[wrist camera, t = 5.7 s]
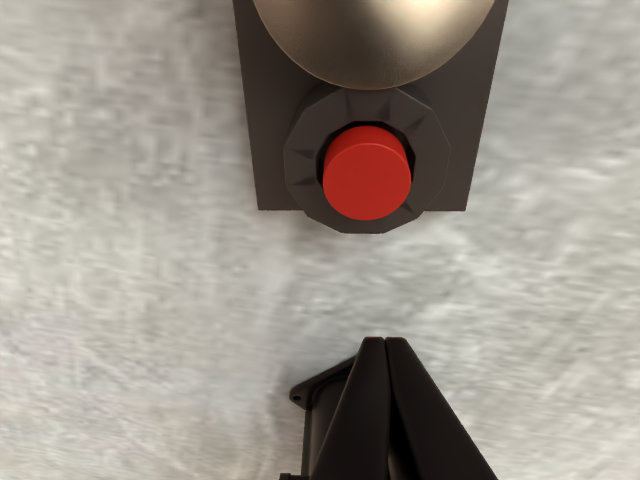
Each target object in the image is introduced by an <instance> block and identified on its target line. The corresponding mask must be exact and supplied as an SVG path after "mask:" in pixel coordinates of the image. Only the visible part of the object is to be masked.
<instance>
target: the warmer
mask: <svg viewBox="0 0 640 480" xmlns="http://www.w3.org/2000/svg"><path fill="white" fill-rule="evenodd" d="M508 1H509V0H495V2H494V4H493V6H492V8H491V9H490V11H489V13H488V14H487V16H486V18H485V20H484V21H483V23H482V24H481V26H480V27H479V28H478V30H477V31H476V32H475V34H474V35H473V36H472V38H471V39H470V40H469V41H468V42H467V43H466V44H465V45H464V46H463V47H462V49H461V50H460V51H458V52H457V53H456V54H455V55H454V56H453V57H452V58H450V59H449V60H448V61H447V62H446V63H444V64H443V65H441V66H440V67H438V68H437V69H436V70H434V71H433V72H431V73H429V74H427V75H425V76H423V77H421V78H419V79H417V80H414V81H412V82H409V83H407V84H404V85H400V86H396V87H392V88H387V89H378V90H358V89H351V88H345V87H341V86H338V85H334V84H331V83H328V82H326V81H324V80H322V79H319V78H317V77H315V76H314V75H312V74H310V73H309V72H307V71H305V70H304V69H303V68H301V67H300V66H299V65H297V64H296V63H295V62H294V61H292V60H291V59H290V58H289V57H288V56H287V55H286V54H285V53H284V52H283V50H282V49H281V48H280V47H279V46H278V45H277V43H276V42H275V41H274V39H273V38H272V37H271V35H270V34H269V32H268V30H267V29H266V27H265V25H264V24H263V22H262V20H261V18H260V16H259V14H258V11H257V9H256V7H255V5H254V2H253V0H233V6H234V14H235V22H236V30H237V39H238V47H239V55H240V64H241V72H242V80H243V88H244V97H245V105H246V113H247V121H248V130H249V138H250V146H251V154H252V163H253V171H254V179H255V187H256V196H257V204H258V210H303V211H304V212H305V214H306V215H307V216H308V217H310V218H311V219H313V220H316V221H318V222H320V223H322V224H324V225H326V226H328V227H330V228H332V229H334V230H336V231H339V232H341V233H350V234H380V233H382V234H383V233H385V232H388V231H390V230H392V229H394V228H397V227H399V226H401V225H403V224H406V223H408V222H410V221H412V220H415V219H417V218H418V217H419V216H420V215H421V214H422V213H423V212H424V211H465V210H466V205H467V200H468V195H469V190H470V185H471V181H472V176H473V171H474V166H475V161H476V156H477V152H478V147H479V142H480V137H481V132H482V127H483V122H484V118H485V113H486V108H487V103H488V98H489V93H490V89H491V84H492V79H493V74H494V69H495V64H496V59H497V55H498V50H499V45H500V40H501V35H502V30H503V26H504V21H505V16H506V11H507V6H508ZM358 126H375V127H380V128H383V129H385V130H387V131H389V132H390V133H392V134H393V135H394V136H395V137H396V138H397V139H398V140H399V141H400V143H401V144H402V146H403V148H404V151H405V154H406V158H407V162H408V166H409V170H410V173H411V186H410V190H409V193H408V195H407V197H406V199H405V200H404V202H403V203H402V204H401V205H400V206H399V207H398V208H397V209H396V210H395V211H393V212H392V213H390V214H389V215H387V216H384V217H382V218H378V219H374V220H357V219H352V218H349V217H347V216H344V215H343V214H341V213H339V212H338V211H337V210H335V209H334V208H333V207H332V206H331V204H330V203H329V202H328V200H327V198H326V196H325V193H324V189H323V173H324V159H325V155H326V152H327V149H328V148H329V146H330V144H331V143H332V141H333V140H334V139H335V138H336V137H337V136H339V135H340V134H341V133H343V132H344V131H346V130H348V129H351V128H354V127H358Z"/></svg>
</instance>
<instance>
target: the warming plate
mask: <svg viewBox="0 0 640 480" xmlns="http://www.w3.org/2000/svg"><path fill="white" fill-rule="evenodd" d="M253 2H254V5H255V7H256V9H257V11H258V14H259V16H260V18H261V20H262V22H263V24H264V25H265V27H266V29H267V30H268V32H269V34H270V35H271V37H272V38H273V39H274V41H275V42H276V43H277V45H278V46H279V47H280V48H281V49H282V50H283V52H284V53H285V54H286V55H287V56H288V57H289V58H290V59H291V60H292V61H294V62H295V63H296V64H297V65H299V66H300V67H301V68H303V69H304V70H305V71H307V72H309V73H310V74H312V75H314V76H315V77H317V78H319V79H322V80H324V81H326V82H328V83H331V84H334V85H338V86H341V87H345V88H351V89H358V90H378V89H387V88H392V87H396V86H400V85H404V84H407V83H409V82H412V81H414V80H417V79H419V78H421V77H423V76H425V75H427V74H429V73H431V72H433V71H434V70H436V69H437V68H438V67H440V66H441V65H443V64H444V63H446V62H447V61H448V60H449V59H450V58H452V57H453V56H454V55H455V54H456V53H457V52H458V51H460V50H461V49H462V47H463V46H464V45H465V44H466V43H467V42H468V41H469V40H470V39H471V38H472V36H473V35H474V34H475V32H476V31H477V30H478V28H479V27H480V26H481V24H482V23H483V21H484V20H485V18H486V16H487V14H488V13H489V11H490V9H491V8H492V6H493V4H494V2H495V0H253Z"/></svg>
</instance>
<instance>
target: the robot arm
mask: <svg viewBox="0 0 640 480" xmlns="http://www.w3.org/2000/svg"><path fill="white" fill-rule="evenodd" d="M289 398H290V400H291V401H292V402H294V403H295V404H297V405H298V406H300V407H301V408H303V409H304V410H306V412H305V425H304V439H303V453H302V466H301V475H291V474H290V473H281V474H280V479H279V480H498V479H497V477H496V475H495V474H494V472H493V471H492V469H491V468H490V466H489V465H488V463H487V462H486V460H485V459H484V457H483V456H482V454H481V453H480V451H479V450H478V448H477V447H476V445H475V444H474V442H473V441H472V439H471V437H470V436H469V434H468V433H467V431H466V430H465V428H464V427H463V425H462V424H461V422H460V421H459V419H458V418H457V416H456V415H455V413H454V412H453V410H452V409H451V407H450V406H449V404H448V403H447V401H446V399H445V398H444V396H443V395H442V393H441V392H440V390H439V389H438V387H437V386H436V384H435V383H434V381H433V380H432V378H431V377H430V375H429V374H428V372H427V371H426V369H425V368H424V366H423V365H422V363H421V361H420V360H419V358H418V357H417V355H416V354H415V352H414V351H413V349H412V348H411V346H410V345H409V343H408V342H407V340H406V339H405V338H402V337H387V338H385V340H384V339H383V338H382V337H365V338H364V339H363V342H362V344H361V347H360V349H359V352H358V354H357V356H356V357H354V358H352V359H350V360H348V361H346V362H344V363H342V364H340V365H338V366H336V367H334V368H332V369H330V370H328V371H326V372H325V373H323V374H321V375H319V376H317V377H315V378H313V379H311V380H309V381H307V382H305V383H303V384H301V385H299V386H297V387H295V388H293V389H292V390H291V391H290V396H289Z"/></svg>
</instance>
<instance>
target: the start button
mask: <svg viewBox="0 0 640 480" xmlns="http://www.w3.org/2000/svg"><path fill="white" fill-rule="evenodd" d="M410 186H411V173H410V170H409V166H408V162H407V158H406V154H405V151H404V148H403V146H402V144H401V143H400V141H399V140H398V139H397V138H396V137H395V136H394V135H393V134H392V133H390V132H389V131H387V130H385V129H383V128H380V127H375V126H358V127H354V128H351V129H348V130H346V131H344V132H343V133H341V134H340V135H339V136H337V137H336V138H335V139H334V140H333V141H332V143H331V144H330V146H329V148H328V149H327V152H326V155H325V159H324V173H323V189H324V193H325V196H326V198H327V200H328V202H329V203H330V204H331V206H332V207H333V208H334V209H335V210H337V211H338V212H339V213H341V214H343V215H344V216H347V217H349V218H352V219H357V220H374V219H378V218H382V217H384V216H387V215H389V214H390V213H392V212H393V211H395V210H396V209H397V208H398V207H399V206H400V205H401V204H402V203H403V202H404V200H405V199H406V197H407V195H408V193H409V190H410Z"/></svg>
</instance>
